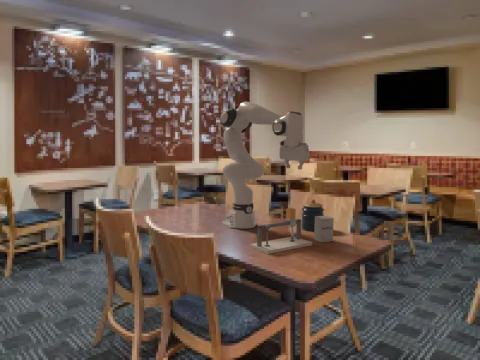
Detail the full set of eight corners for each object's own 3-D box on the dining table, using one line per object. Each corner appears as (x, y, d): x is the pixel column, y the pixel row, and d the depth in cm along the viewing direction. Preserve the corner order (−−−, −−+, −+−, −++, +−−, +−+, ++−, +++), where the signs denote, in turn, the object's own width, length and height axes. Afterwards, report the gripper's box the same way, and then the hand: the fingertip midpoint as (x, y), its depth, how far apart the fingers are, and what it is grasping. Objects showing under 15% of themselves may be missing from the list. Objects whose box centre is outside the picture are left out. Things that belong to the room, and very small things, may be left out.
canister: (324, 231, 226) (325, 201, 224) (301, 231, 228) (301, 200, 226) (323, 226, 239) (323, 197, 237) (301, 225, 241) (301, 197, 239)
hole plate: (250, 247, 195) (250, 223, 194) (293, 238, 211) (294, 217, 209) (267, 254, 184) (267, 229, 182) (312, 245, 199) (312, 222, 198)
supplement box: (320, 242, 203) (320, 218, 202) (313, 239, 210) (314, 215, 209) (333, 241, 205) (334, 217, 204) (326, 238, 212) (327, 215, 211)
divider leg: (285, 238, 203) (285, 208, 201) (290, 237, 205) (291, 207, 203) (290, 240, 199) (290, 209, 198) (295, 239, 201) (296, 208, 200)
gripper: (312, 142, 202) (312, 169, 203) (286, 142, 219) (286, 167, 220) (303, 142, 198) (302, 170, 200) (277, 142, 215) (277, 167, 217)
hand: (293, 168), depth 210 cm, fingers open, 8 cm apart
